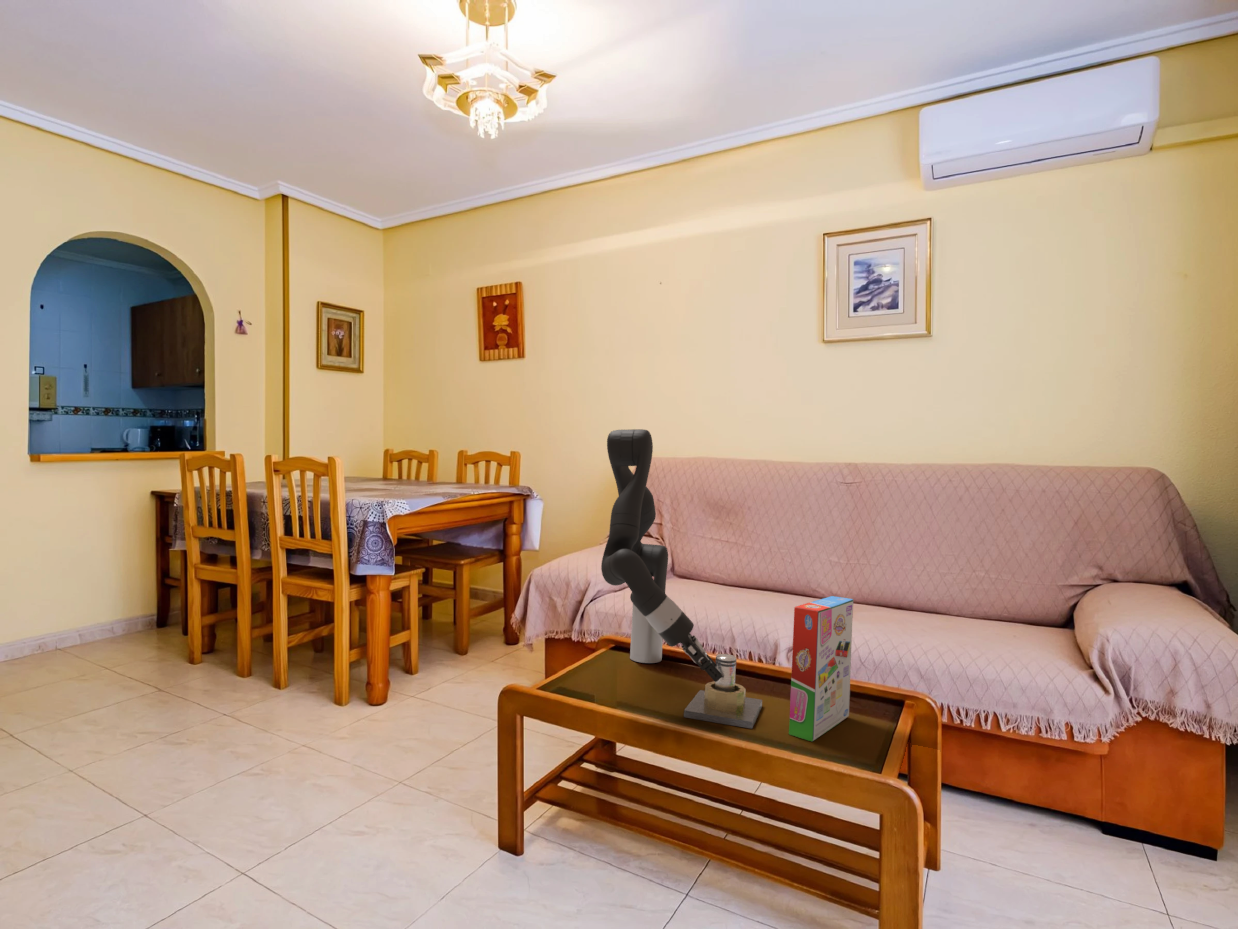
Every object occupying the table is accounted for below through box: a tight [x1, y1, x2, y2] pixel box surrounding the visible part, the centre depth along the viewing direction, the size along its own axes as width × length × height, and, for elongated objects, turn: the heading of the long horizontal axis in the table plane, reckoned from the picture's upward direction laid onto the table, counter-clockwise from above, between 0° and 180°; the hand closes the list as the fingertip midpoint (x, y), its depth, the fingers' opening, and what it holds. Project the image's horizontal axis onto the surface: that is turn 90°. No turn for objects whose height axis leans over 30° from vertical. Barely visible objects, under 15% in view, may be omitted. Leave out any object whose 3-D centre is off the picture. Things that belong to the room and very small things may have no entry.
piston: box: [715, 653, 738, 692], centre depth 153 cm, size 5×5×11 cm
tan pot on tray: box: [683, 680, 763, 730], centre depth 153 cm, size 16×15×6 cm
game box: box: [788, 595, 854, 742], centre depth 147 cm, size 21×6×27 cm, turn 141°
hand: (716, 673), depth 153 cm, fingers open, 8 cm apart
